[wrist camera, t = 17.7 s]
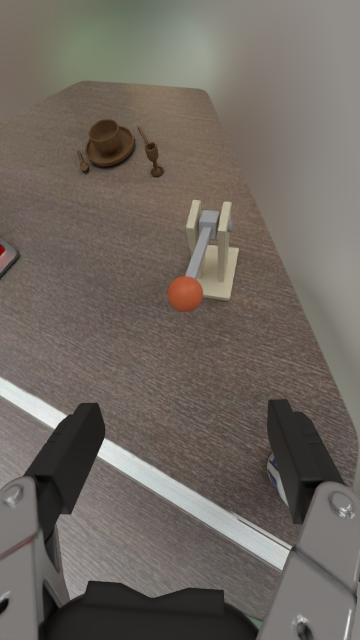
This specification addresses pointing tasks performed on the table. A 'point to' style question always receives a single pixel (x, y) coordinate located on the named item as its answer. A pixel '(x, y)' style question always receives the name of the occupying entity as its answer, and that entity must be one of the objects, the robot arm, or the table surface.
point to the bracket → (214, 254)
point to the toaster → (6, 256)
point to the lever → (194, 267)
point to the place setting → (115, 146)
